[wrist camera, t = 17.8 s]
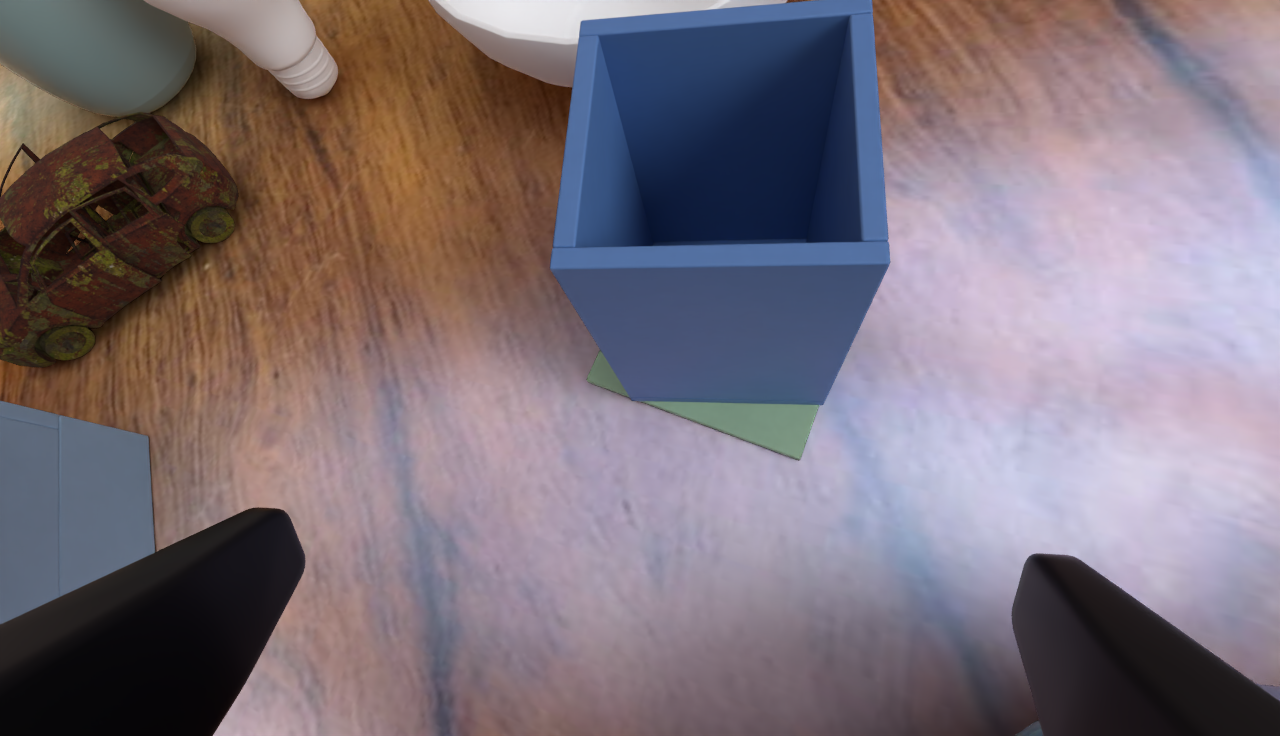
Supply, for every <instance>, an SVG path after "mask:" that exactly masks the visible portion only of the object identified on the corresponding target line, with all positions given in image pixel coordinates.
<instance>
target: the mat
mask: <svg viewBox="0 0 1280 736" xmlns="http://www.w3.org/2000/svg"><path fill="white" fill-rule="evenodd" d="M586 380H587V381H588V382H589V383H591V384H594V385H597V386H599V387H602V388H605V389H608V390H610V391H613V392H616V393H618V394H621V395H624V396H626V397H629V395H628V394H627V392H626V390H625V389H624V387H623V386H622V384H621V382H620V381H619V379H618V378H617V376H616V374H615V373H614V371H613V369H612V368H611V366H610V365H609V363H608V361H607V360H606V358H605V357H604V355H603V353H602V352H601V350H600V351H599V353H598V355H597V357H596V360H595V362H594V364H593V366H592V368H591V371H590V373H589V375H588V377H587V379H586ZM629 398H630V397H629ZM640 402H643V403H645V404H648V405H651V406H653V407H656V408H659V409H661V410H664V411H667V412H669V413H672V414H675V415H678V416H680V417H683V418H686V419H688V420H691V421H694V422H696V423H699V424H702V425H705V426H707V427H710V428H713V429H715V430H718V431H721V432H723V433H726V434H729V435H731V436H734V437H737V438H740V439H742V440H745V441H748V442H750V443H753V444H756V445H758V446H761V447H764V448H766V449H769V450H772V451H775V452H777V453H780V454H783V455H785V456H788V457H791V458H793V459H796V460H800V459H801V456H802V453H803V450H804V447H805V444H806V441H807V438H808V436H809V433H810V430H811V427H812V424H813V421H814V418H815V415H816V413H817V410H818V407H819V405H798V404H753V403H708V402H664V401H640Z"/></svg>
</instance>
